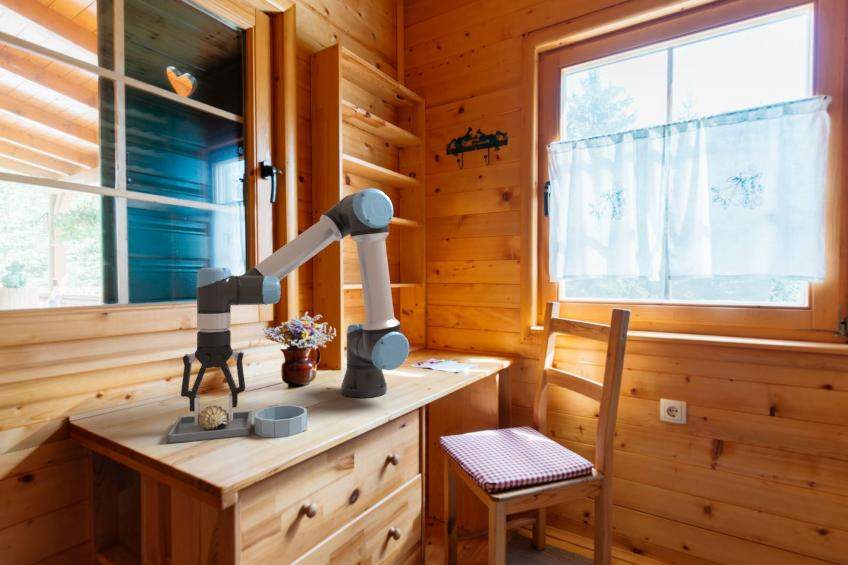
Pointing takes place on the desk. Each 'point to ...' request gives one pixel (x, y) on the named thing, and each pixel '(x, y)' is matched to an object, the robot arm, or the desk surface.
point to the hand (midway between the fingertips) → (214, 421)
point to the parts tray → (189, 432)
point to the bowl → (280, 421)
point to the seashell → (212, 417)
